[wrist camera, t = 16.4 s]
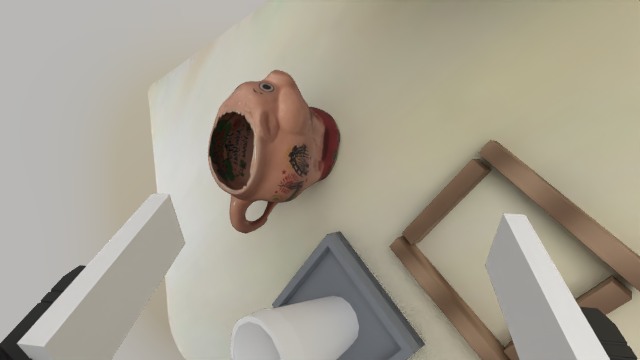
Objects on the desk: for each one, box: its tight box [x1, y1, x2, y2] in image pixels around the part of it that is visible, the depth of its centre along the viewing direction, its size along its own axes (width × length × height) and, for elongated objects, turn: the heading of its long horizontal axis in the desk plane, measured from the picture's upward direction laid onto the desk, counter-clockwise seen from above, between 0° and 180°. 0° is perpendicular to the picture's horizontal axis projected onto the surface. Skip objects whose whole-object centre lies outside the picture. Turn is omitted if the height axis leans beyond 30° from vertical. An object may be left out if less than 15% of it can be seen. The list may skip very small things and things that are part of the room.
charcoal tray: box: [272, 232, 425, 360], centre depth 44 cm, size 16×16×2 cm
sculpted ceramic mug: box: [208, 70, 340, 233], centre depth 42 cm, size 20×12×14 cm, turn 166°
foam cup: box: [230, 296, 359, 360], centre depth 39 cm, size 10×9×13 cm
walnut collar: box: [389, 140, 640, 360], centre depth 31 cm, size 15×15×2 cm
